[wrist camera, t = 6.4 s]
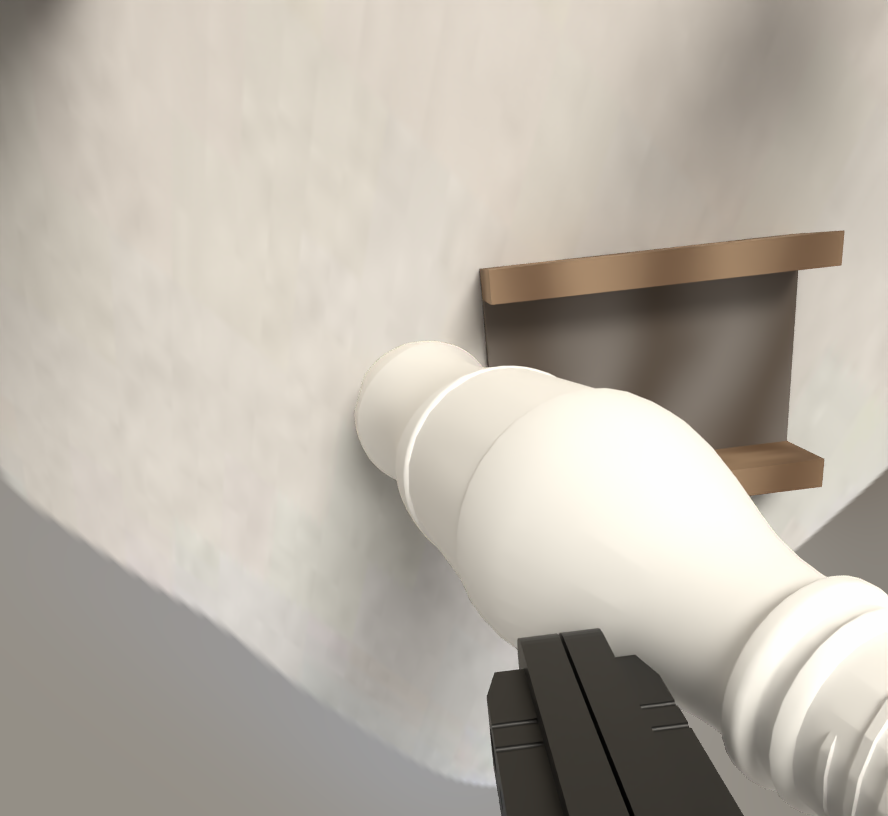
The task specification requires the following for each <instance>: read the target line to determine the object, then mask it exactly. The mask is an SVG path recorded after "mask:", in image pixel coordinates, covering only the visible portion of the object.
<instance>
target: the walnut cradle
mask: <svg viewBox="0 0 888 816" xmlns="http://www.w3.org/2000/svg"><path fill="white" fill-rule="evenodd" d="M843 242H844V231H830V232H816V233H801V234H789V235H780V236H771V237H762V238H753V239H744V240H735V241H726V242H717V243H708V244H699V245H690V246H681V247H672V248H663V249H654V250H645V251H636V252H627V253H618V254H609V255H600V256H591V257H582V258H573V259H565V260H556V261H547V262H538V263H529V264H520V265H511V266H502V267H493V268H484V269H480V279H481V290H482V302H483V314H484V325H485V337H486V348H487V360H488V367H497V366H522V367H529V368H533V369H537V370H540V371H543V372H546V373H549V374H551V375H554V376H555V377H557V378H561V379H564V380H568V381H571V382H575V383H578V384H582V385H585V386H588V387H592V388H595V389H596V388H609V389H615V390H620V391H626V392H629V393H632V394H634V395H637V396H639V397H642V398H645V399H647V400H650V401H652V402H654V403H656V404H658V405H659V406H661V407H663V408H665V409H666V410H668V411H670V412H671V413H673V414H674V415H676V416H677V417H679V418H680V419H682V420H683V421H685V422H686V423H687V424H688V425H689V426H690V427H691V428H693V429H694V430H695V431H696V432H697V433H698V434H699V435H700V436H701V437H702V438H703V439H704V440H705V441H706V442H707V443H708V444H709V445H710V446H711V447H712V448H713V449H714V450H715V451H716V453H717V454H718V455H719V457H720V458H721V459H722V460H723V462H724V463H725V464H726V465H727V467H728V468H729V469H730V470H731V472H732V473H733V474H734V476H735V477H736V478H737V480H738V481H739V482H740V484H741V485H742V487H743V488H744V490H745V491H746V492H747V494H748V495H749V496H751V495H759V494H767V493H775V492H783V491H791V490H799V489H807V488H816V487H822V480H823V468H824V459H823V458H821V457H819V456H817V455H815V454H813V453H811V452H809V451H807V450H805V449H803V448H800V447H798V446H796V445H794V444H792V443H790V442H788V441H787V428H788V413H789V398H790V384H791V369H792V354H793V339H794V325H795V310H796V295H797V280H798V270H804V269H813V268H822V267H831V266H840V265H841V264H842V253H843Z"/></svg>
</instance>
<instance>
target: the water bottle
mask: <svg viewBox="0 0 888 816" xmlns="http://www.w3.org/2000/svg"><path fill="white" fill-rule="evenodd" d="M354 419H355V426H356V431H357V434H358V437H359V440H360V443H361V445H362V447H363V449H364V451H365V452H366V454H367V456H368V457H369V459H370V460H371V461H372V462H373V463H374V464H375V466H376V467H377V468H379V469H380V470H381V471H382V472H383V473H385V474H386V475H388V476H389V477H391V478H393V479H395V480H397V485H398V489H399V492H400V496H401V499H402V501H403V503H404V505H405V507H406V509H407V511H408V513H409V515H410V516H411V518H412V520H413V521H414V523H415V524H416V525H417V527H418V528H419V530H420V531H421V532H422V533H423V535H424V536H425V537H426V538H427V539H428V540H429V541H430V542H431V543H432V544H433V545H434V546H436V547H437V548H438V549H439V550H440V551H441V553H442V554H443V556H444V557H445V558H446V560H447V561H448V562H449V564H450V565H451V567H452V568H453V569H454V571H455V572H456V573H457V575H458V576H459V578H460V579H461V580H462V583H463V585H464V588H465V590H466V592H467V594H468V597H469V599H470V601H471V603H472V604H473V605H474V607H475V608H476V610H477V611H478V612H479V614H480V615H481V617H482V618H483V619H484V620H485V621H486V622H487V623H488V624H489V625H490V626H491V627H492V628H493V629H494V630H495V632H496V633H497V634H498V635H499V636H500V637H501V638H503V639H504V640H505V641H507V642H508V643H509V644H511V645H512V646H514V647H515V648H516V649H518V648H517V640H518V638H523V637H531V636H539V635H547V634H555V633H557V634H558V635H559V633H562V632H570V631H578V630H586V629H594V628H599V629H601V631H602V632H603V634H604V636H605V638H606V640H607V642H608V644H609V646H610V648H611V650H612V652H613V653H614V655H615V657H620V656H628V655H636V656H637V657H639V658H640V659H641V660H642V661H643V662H645V663H646V664H647V665H648V666H650V667H651V668H652V669H653V670H654V671H656V672H657V673H658V674H659V675H660V676H661V678H662V680H663V681H664V683H665V685H666V686H667V688H668V690H669V691H670V693H671V695H672V697H673V698H674V700H675V704H676V706H678V707H679V708H680V709H681V710H683V711H686V712H688V713H690V714H692V715H694V716H696V717H697V718H699V719H701V720H702V721H704V722H705V723H707V724H708V725H710V726H711V727H713V728H714V729H716V730H717V731H718V732H720V734H722V738H723V742H724V745H725V749H726V752H727V754H728V756H729V757H730V759H731V761H732V763H733V764H734V765H735V766H736V767H737V768H738V769H739V770H740V771H741V772H742V773H743V774H744V775H745V776H746V777H747V778H748V779H749V780H750V781H752V782H753V783H755V784H757V785H759V786H761V787H763V788H765V789H769V790H774V791H777V793H778V795H779V797H781V798H782V799H783V800H784V801H785V802H786V803H787V804H788V805H790V806H791V807H792V808H794V809H796V810H798V811H800V812H802V813H805V814H808V815H812V816H888V595H887V594H886V593H885V592H884V591H882V590H881V589H880V588H878V587H876V586H874V585H872V584H871V583H869V582H866V581H864V580H862V579H860V578H856V577H851V576H846V575H844V576H831V577H826V576H824V575H822V574H821V573H819V572H818V571H817V570H815V569H814V568H813V567H811V566H810V565H809V564H807V563H806V562H805V561H803V560H802V559H801V558H799V557H798V556H797V555H796V554H795V553H794V552H793V551H792V550H791V549H790V548H789V547H788V546H787V545H786V544H785V543H784V542H783V541H782V540H781V539H780V538H779V537H778V536H777V535H776V533H775V532H774V531H773V529H772V528H771V527H770V525H769V524H768V523H767V521H766V520H765V519H764V517H763V516H762V514H761V513H760V511H759V510H758V508H757V507H756V506H755V504H754V503H753V501H752V500H751V498H750V497H749V495H748V494H747V492H746V491H745V490H744V488H743V487H742V485H741V484H740V482H739V481H738V480H737V478H736V477H735V476H734V474H733V473H732V472H731V470H730V469H729V468H728V467H727V465H726V464H725V463H724V462H723V460H722V459H721V458H720V457H719V455H718V454H717V453H716V451H715V450H714V449H713V448H712V447H711V446H710V445H709V444H708V443H707V442H706V441H705V440H704V439H703V438H702V437H701V436H700V435H699V434H698V433H697V432H696V431H695V430H694V429H693V428H691V427H690V426H689V425H688V424H687V423H686V422H685V421H683V420H682V419H680V418H679V417H677V416H676V415H674V414H673V413H671V412H670V411H668V410H666V409H665V408H663V407H661V406H659V405H658V404H656V403H654V402H652V401H650V400H647V399H645V398H642V397H639V396H637V395H634V394H632V393H629V392H626V391H620V390H615V389H609V388H596V389H595V388H592V387H588V386H585V385H582V384H578V383H575V382H571V381H568V380H564V379H561V378H557V377H555V376H554V375H551V374H549V373H546V372H543V371H540V370H537V369H533V368H529V367H522V366H497V367H486V368H485V367H483V366H482V365H481V364H480V363H479V362H478V361H477V360H476V359H475V358H474V357H473V356H472V355H471V354H470V353H468V352H467V351H465V350H463V349H462V348H460V347H457V346H455V345H452V344H448V343H444V342H439V341H420V342H412V343H407V344H404V345H401V346H399V347H397V348H395V349H393V350H391V351H389V352H387V353H386V354H384V355H383V356H382V357H380V358H379V359H378V360H377V361H376V362H375V363H374V364H373V365H372V366H371V367H370V368H369V370H368V371H367V373H366V374H365V376H364V378H363V381H362V385H361V389H360V393H359V396H358V400H357V404H356V407H355V410H354Z"/></svg>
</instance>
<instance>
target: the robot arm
mask: <svg viewBox="0 0 888 816" xmlns="http://www.w3.org/2000/svg"><path fill="white" fill-rule="evenodd" d="M517 648H518V661H519V670H511V671H503V672H495V673H494V676H493V679H492V682H491V685H490V688H489V691H488V695H487V704H488V715H489V725H490V735H491V745H492V756H493V766H494V772H495V778H496V784H497V791H498V796H499V803H500V810H501V816H744V815H743V814H742V812H741V810H740V809H739V807H738V805H737V804H736V802H735V800H734V799H733V797H732V795H731V794H730V792H729V790H728V789H727V787H726V785H725V784H724V782H723V780H722V779H721V777H720V775H719V774H718V772H717V770H716V769H715V767H714V765H713V764H712V762H711V760H710V759H709V757H708V755H707V753H706V752H705V750H704V748H703V747H702V745H701V743H700V742H699V740H698V739H697V737H696V735H695V733H694V732H693V730H692V728H689V726H688V722H687V720H686V718H685V717H684V715H683V713H682V712H681V710H680V708H679V707H678V706H676V704H675V700H674V698H673V697H672V695H671V693H670V691H669V690H668V688H667V686H666V685H665V683H664V681H663V680H662V678H661V676H660V675H659V674H658V673H657V672H656V671H654V670H653V669H652V668H651V667H650V666H648V665H647V664H646V663H645V662H643V661H642V660H641V659H640V658H639V657H637V656H636V655H628V656H620V657H615V655H614V653H613V652H612V650H611V648H610V646H609V644H608V642H607V640H606V638H605V636H604V634H603V632H602V631H601V629H599V628H594V629H586V630H578V631H570V632H562V633H559V635H558V634H557V633H555V634H547V635H539V636H531V637H523V638H518V640H517Z"/></svg>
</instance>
